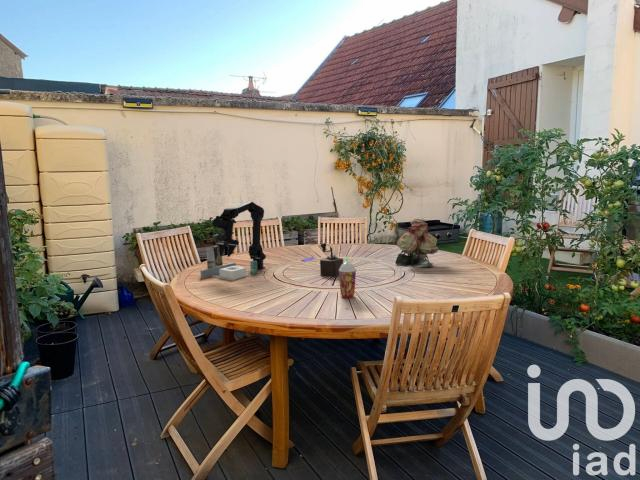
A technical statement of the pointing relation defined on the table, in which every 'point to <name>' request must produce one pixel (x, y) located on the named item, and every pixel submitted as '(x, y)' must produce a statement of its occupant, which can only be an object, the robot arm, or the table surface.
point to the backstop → (216, 271)
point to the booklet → (308, 259)
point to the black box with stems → (330, 264)
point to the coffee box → (213, 257)
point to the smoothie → (347, 279)
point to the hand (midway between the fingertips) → (224, 256)
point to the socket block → (233, 272)
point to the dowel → (253, 267)
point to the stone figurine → (416, 246)
